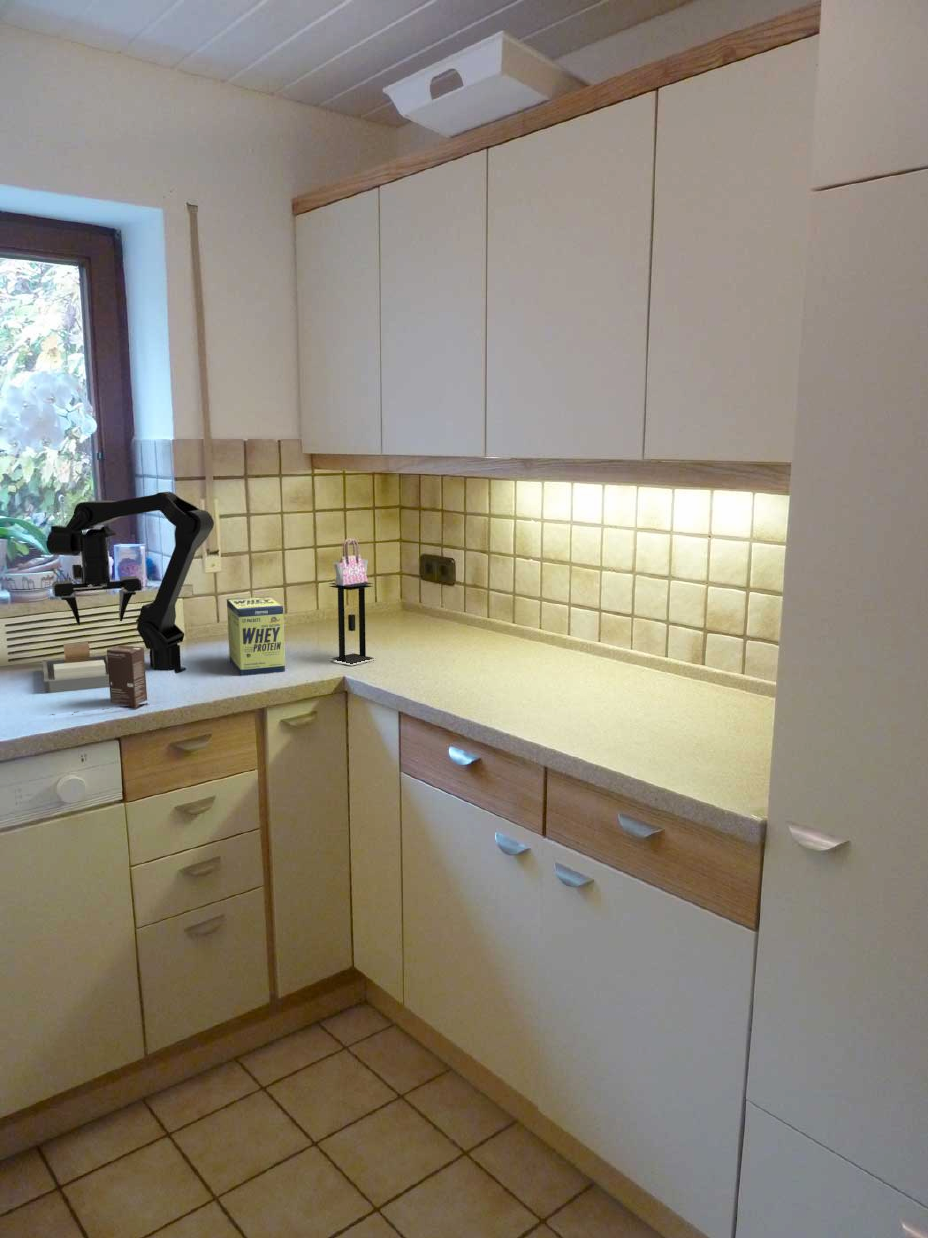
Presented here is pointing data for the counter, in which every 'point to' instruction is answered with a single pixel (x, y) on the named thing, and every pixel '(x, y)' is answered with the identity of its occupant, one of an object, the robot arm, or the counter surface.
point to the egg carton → (79, 669)
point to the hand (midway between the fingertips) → (99, 622)
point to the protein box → (256, 635)
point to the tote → (73, 683)
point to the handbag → (351, 578)
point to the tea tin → (76, 652)
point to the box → (127, 676)
